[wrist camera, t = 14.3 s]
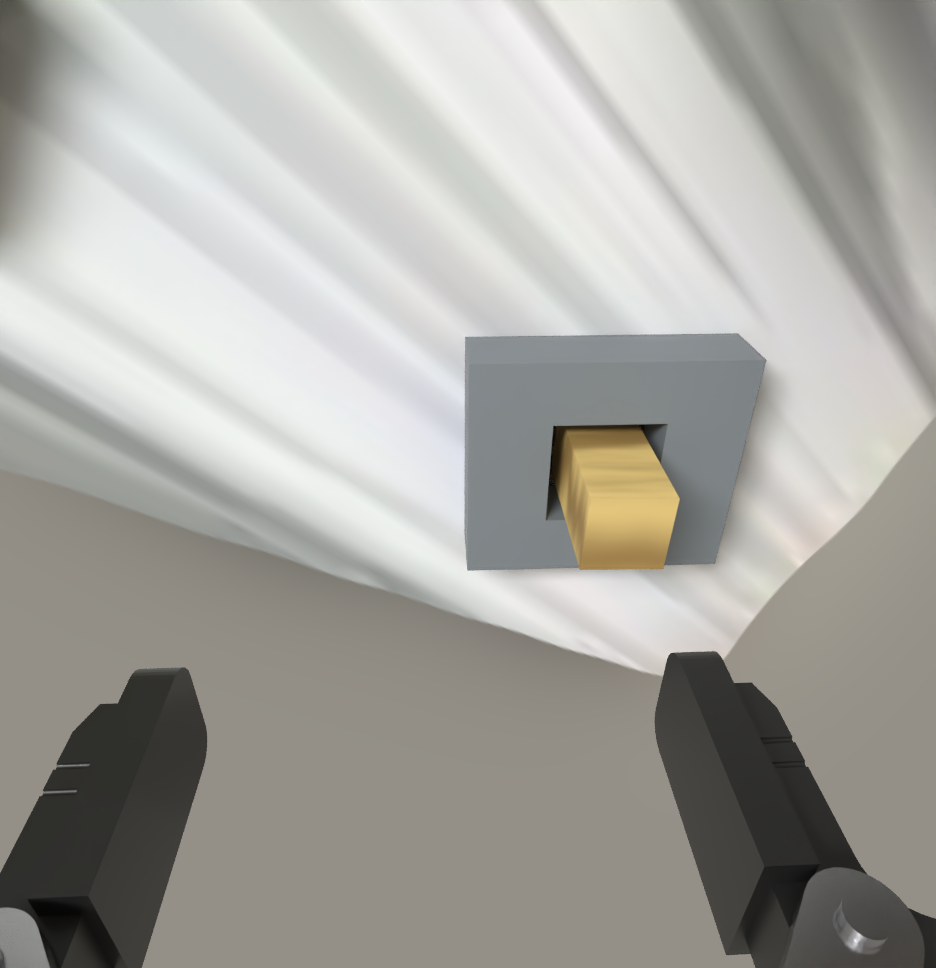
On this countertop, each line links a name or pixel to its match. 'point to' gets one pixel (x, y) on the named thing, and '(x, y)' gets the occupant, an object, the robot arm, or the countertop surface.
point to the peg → (613, 496)
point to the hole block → (600, 401)
